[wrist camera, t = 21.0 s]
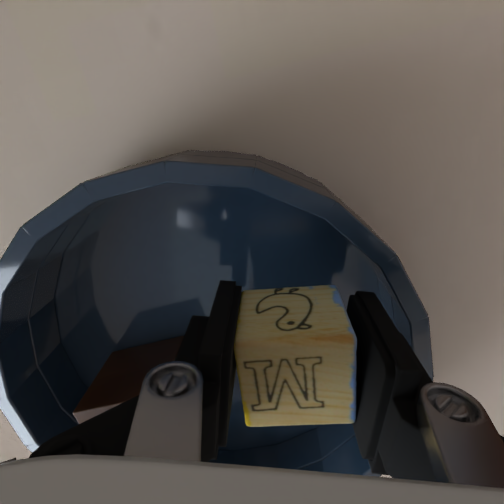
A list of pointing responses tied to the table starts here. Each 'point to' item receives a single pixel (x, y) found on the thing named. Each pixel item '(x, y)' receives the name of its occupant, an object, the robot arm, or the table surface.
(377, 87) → the table surface
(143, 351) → the walnut cube
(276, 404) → the alphabet block
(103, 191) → the bowl
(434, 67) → the table surface
